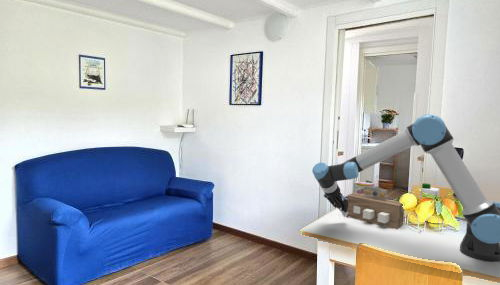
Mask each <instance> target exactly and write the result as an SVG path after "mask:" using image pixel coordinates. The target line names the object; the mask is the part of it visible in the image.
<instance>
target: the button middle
mask: <svg viewBox="0 0 500 285" xmlns="http://www.w3.org/2000/svg"><path fill="white" fill-rule="evenodd" d="M363 218H366V219H372V218H375V210H374V209H370V208H368V209H365V210H363Z"/></svg>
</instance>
